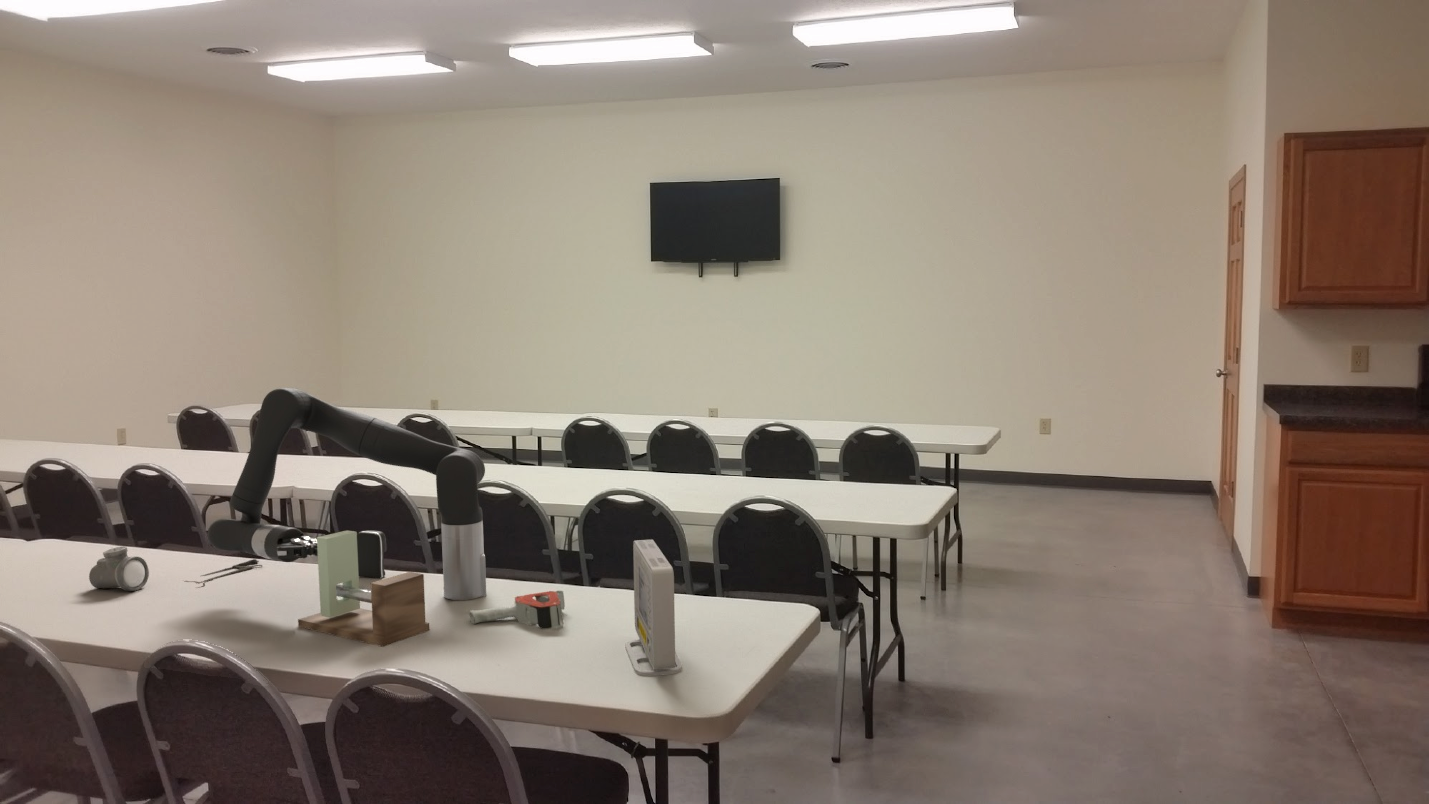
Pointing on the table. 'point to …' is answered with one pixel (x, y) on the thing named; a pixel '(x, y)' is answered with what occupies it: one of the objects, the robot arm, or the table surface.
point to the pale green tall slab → (337, 571)
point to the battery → (371, 554)
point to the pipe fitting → (119, 571)
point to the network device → (653, 611)
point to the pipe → (353, 593)
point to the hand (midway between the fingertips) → (329, 551)
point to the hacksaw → (241, 568)
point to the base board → (380, 613)
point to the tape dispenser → (528, 610)
